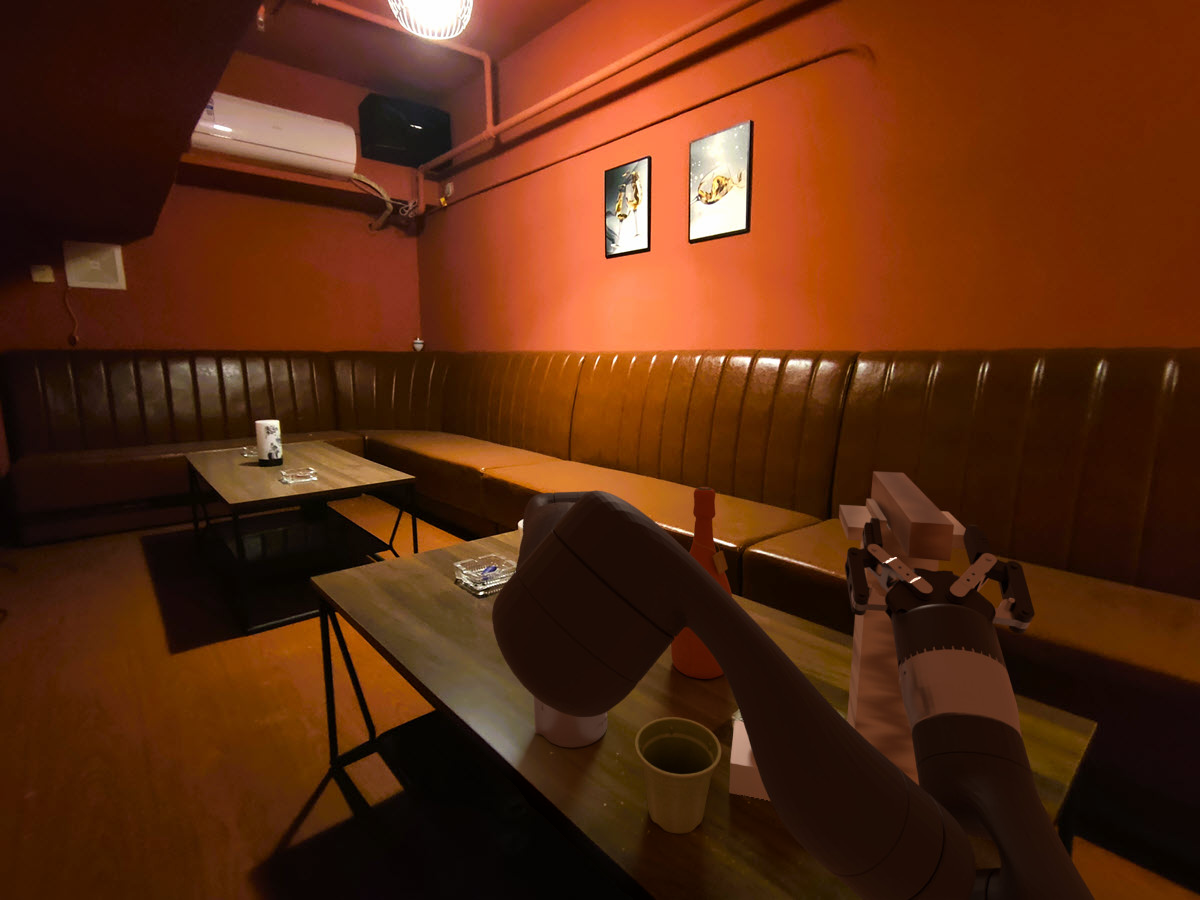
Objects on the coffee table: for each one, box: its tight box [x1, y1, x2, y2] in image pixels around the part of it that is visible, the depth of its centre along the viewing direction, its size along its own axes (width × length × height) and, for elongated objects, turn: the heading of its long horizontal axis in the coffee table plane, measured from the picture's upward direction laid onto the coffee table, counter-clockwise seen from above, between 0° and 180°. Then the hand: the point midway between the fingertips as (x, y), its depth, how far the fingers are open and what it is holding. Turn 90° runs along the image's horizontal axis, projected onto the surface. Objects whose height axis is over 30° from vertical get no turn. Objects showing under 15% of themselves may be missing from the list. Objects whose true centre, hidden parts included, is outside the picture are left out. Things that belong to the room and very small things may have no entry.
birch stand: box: [838, 498, 966, 785], centre depth 69 cm, size 12×9×33 cm
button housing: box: [728, 719, 771, 802], centre depth 70 cm, size 8×8×4 cm
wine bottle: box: [670, 486, 733, 680], centre depth 92 cm, size 10×10×30 cm
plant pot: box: [634, 716, 722, 834], centre depth 64 cm, size 9×9×9 cm
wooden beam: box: [870, 470, 954, 562], centre depth 64 cm, size 4×22×4 cm, turn 164°
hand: (920, 526), depth 57 cm, fingers open, 8 cm apart
